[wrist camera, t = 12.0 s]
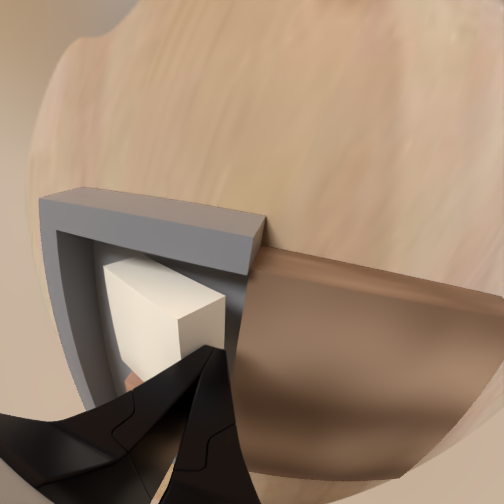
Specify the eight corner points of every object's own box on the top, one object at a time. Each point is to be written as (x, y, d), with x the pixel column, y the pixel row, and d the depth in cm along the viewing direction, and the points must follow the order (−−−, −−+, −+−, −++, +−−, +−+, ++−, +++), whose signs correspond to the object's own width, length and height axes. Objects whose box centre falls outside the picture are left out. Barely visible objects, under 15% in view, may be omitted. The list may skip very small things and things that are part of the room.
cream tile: (223, 396, 11) (189, 421, 9) (152, 343, 13) (121, 359, 12) (225, 295, 9) (177, 319, 7) (142, 254, 12) (103, 265, 10)
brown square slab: (395, 452, 15) (399, 478, 12) (225, 436, 16) (217, 464, 14) (501, 296, 10) (525, 320, 8) (260, 245, 11) (250, 269, 9)
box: (224, 443, 16) (214, 476, 14) (112, 404, 17) (94, 429, 15) (266, 215, 11) (253, 237, 8) (82, 186, 12) (38, 198, 9)
